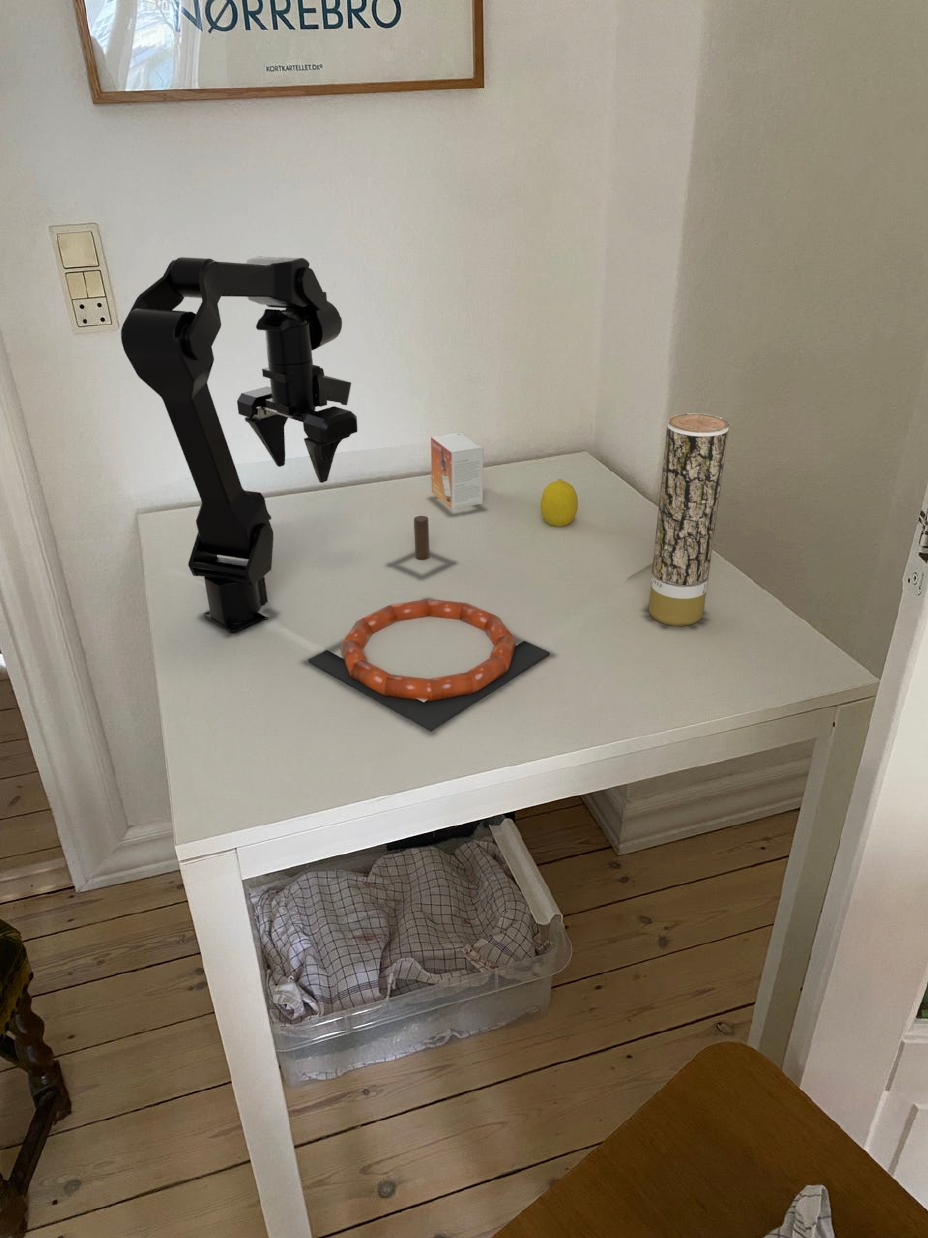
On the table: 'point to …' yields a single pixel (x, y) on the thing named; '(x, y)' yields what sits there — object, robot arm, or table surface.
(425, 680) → the ring
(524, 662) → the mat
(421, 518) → the brown cylinder
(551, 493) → the lemon
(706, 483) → the paper tube
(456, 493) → the small box
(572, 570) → the table surface
